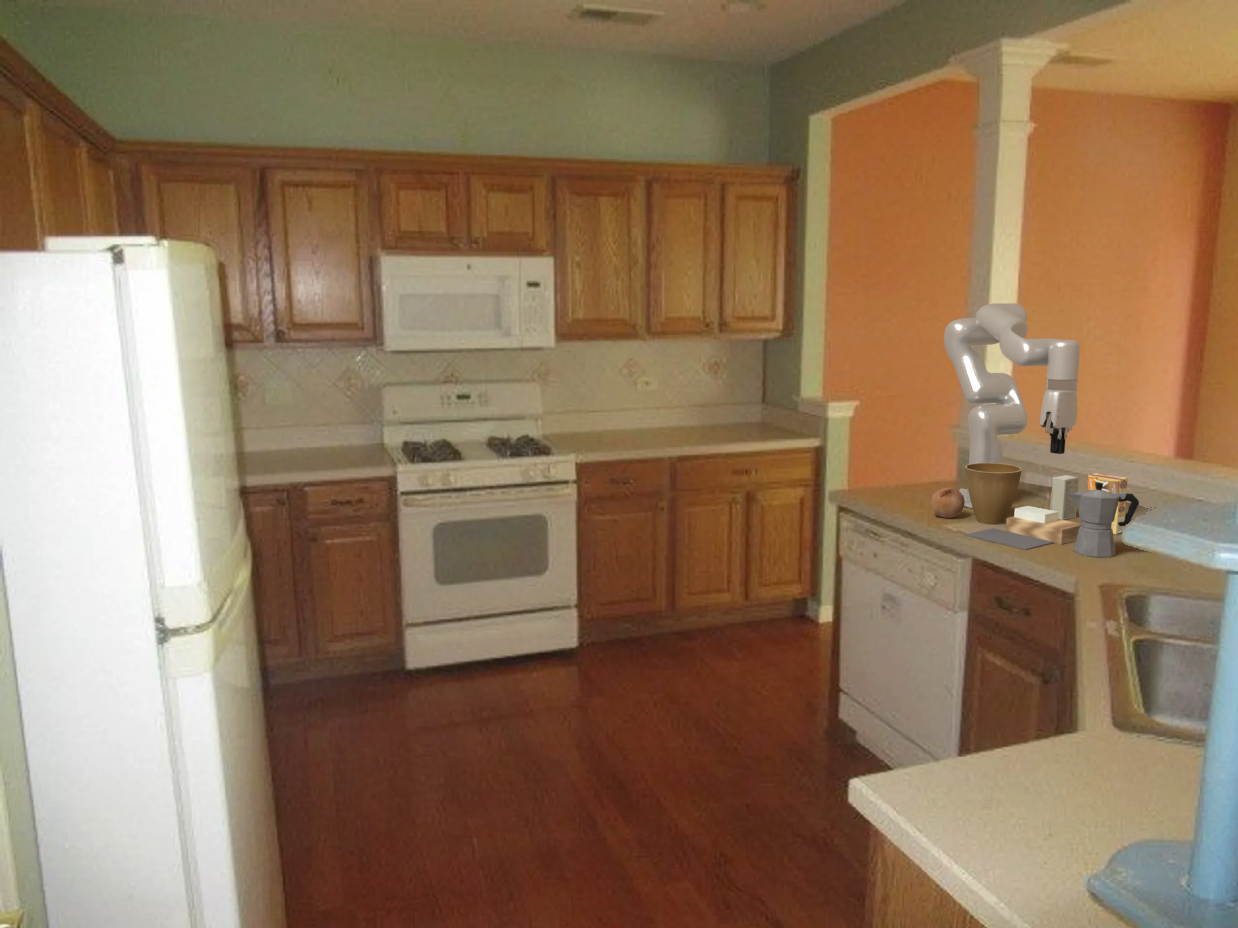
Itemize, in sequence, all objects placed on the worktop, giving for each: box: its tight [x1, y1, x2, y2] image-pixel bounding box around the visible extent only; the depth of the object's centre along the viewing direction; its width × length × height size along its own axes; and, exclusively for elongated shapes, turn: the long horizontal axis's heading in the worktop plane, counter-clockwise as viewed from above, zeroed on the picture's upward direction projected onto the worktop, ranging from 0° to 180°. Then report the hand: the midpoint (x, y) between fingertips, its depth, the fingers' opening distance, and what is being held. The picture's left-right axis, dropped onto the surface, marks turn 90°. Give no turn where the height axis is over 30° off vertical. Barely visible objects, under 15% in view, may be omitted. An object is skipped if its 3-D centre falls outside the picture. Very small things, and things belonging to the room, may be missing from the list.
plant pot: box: [964, 462, 1023, 525], centre depth 254 cm, size 15×15×16 cm
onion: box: [930, 487, 965, 519], centre depth 261 cm, size 10×9×10 cm
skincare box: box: [1049, 474, 1080, 521], centre depth 257 cm, size 6×4×12 cm
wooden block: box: [1005, 516, 1081, 546], centre depth 238 cm, size 16×10×4 cm, turn 32°
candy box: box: [1086, 472, 1128, 535], centre depth 242 cm, size 9×4×15 cm, turn 33°
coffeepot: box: [1069, 482, 1140, 559], centre depth 220 cm, size 15×9×18 cm, turn 69°
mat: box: [965, 527, 1055, 551], centre depth 236 cm, size 18×12×1 cm, turn 32°
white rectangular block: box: [1013, 505, 1059, 523], centre depth 241 cm, size 9×6×2 cm, turn 32°
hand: (1057, 453), depth 242 cm, fingers closed
